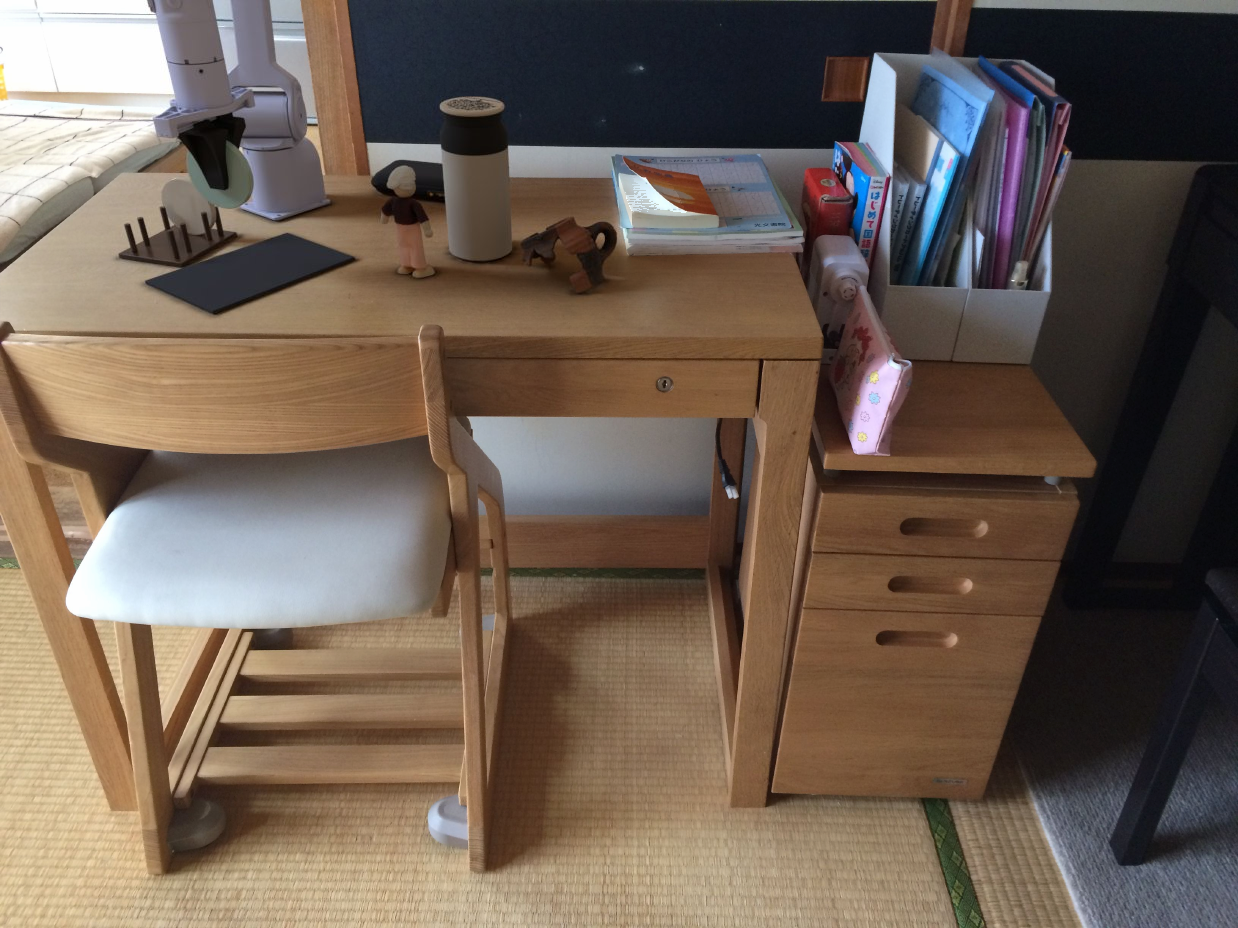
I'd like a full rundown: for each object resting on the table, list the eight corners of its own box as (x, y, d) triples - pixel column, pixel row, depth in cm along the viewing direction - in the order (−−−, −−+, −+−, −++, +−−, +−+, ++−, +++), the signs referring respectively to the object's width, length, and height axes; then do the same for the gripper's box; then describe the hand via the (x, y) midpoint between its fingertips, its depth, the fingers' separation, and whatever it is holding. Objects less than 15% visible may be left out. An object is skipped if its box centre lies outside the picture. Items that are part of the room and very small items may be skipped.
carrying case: (363, 197, 134) (459, 208, 131) (361, 176, 132) (457, 187, 130) (395, 175, 143) (486, 185, 140) (393, 155, 141) (484, 165, 138)
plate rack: (177, 228, 122) (169, 197, 120) (237, 236, 120) (230, 205, 118) (119, 258, 114) (109, 226, 111) (182, 267, 112) (174, 235, 109)
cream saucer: (173, 229, 120) (159, 173, 116) (221, 236, 119) (209, 180, 115) (168, 231, 120) (154, 175, 116) (217, 238, 118) (205, 182, 114)
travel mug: (485, 268, 114) (477, 116, 104) (436, 253, 117) (423, 105, 107) (524, 248, 120) (520, 102, 109) (476, 235, 123) (467, 92, 113)
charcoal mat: (287, 235, 121) (287, 232, 121) (355, 260, 115) (354, 256, 115) (145, 283, 108) (144, 280, 107) (213, 314, 102) (212, 311, 101)
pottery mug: (560, 306, 107) (528, 240, 104) (532, 310, 115) (501, 249, 113) (643, 260, 110) (613, 195, 108) (610, 268, 119) (582, 207, 117)
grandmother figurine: (448, 270, 113) (439, 165, 106) (433, 281, 110) (422, 175, 103) (392, 260, 115) (380, 157, 108) (376, 272, 112) (362, 166, 105)
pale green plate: (200, 202, 109) (184, 132, 104) (260, 210, 107) (246, 139, 102) (195, 204, 108) (178, 134, 103) (255, 213, 106) (241, 142, 102)
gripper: (206, 44, 105) (231, 164, 113) (115, 69, 93) (150, 202, 101) (260, 49, 103) (282, 171, 111) (175, 75, 92) (206, 210, 100)
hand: (223, 186), depth 106 cm, fingers closed on pale green plate, 1 cm apart
